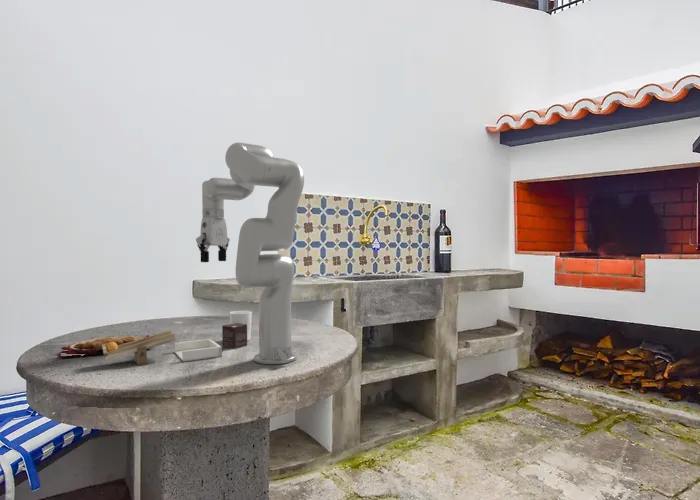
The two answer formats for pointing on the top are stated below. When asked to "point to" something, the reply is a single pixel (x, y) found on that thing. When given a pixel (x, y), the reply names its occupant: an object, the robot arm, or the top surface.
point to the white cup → (242, 320)
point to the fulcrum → (141, 355)
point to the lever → (139, 344)
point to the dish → (197, 350)
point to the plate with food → (96, 345)
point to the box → (234, 335)
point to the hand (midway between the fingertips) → (213, 261)
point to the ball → (111, 346)
